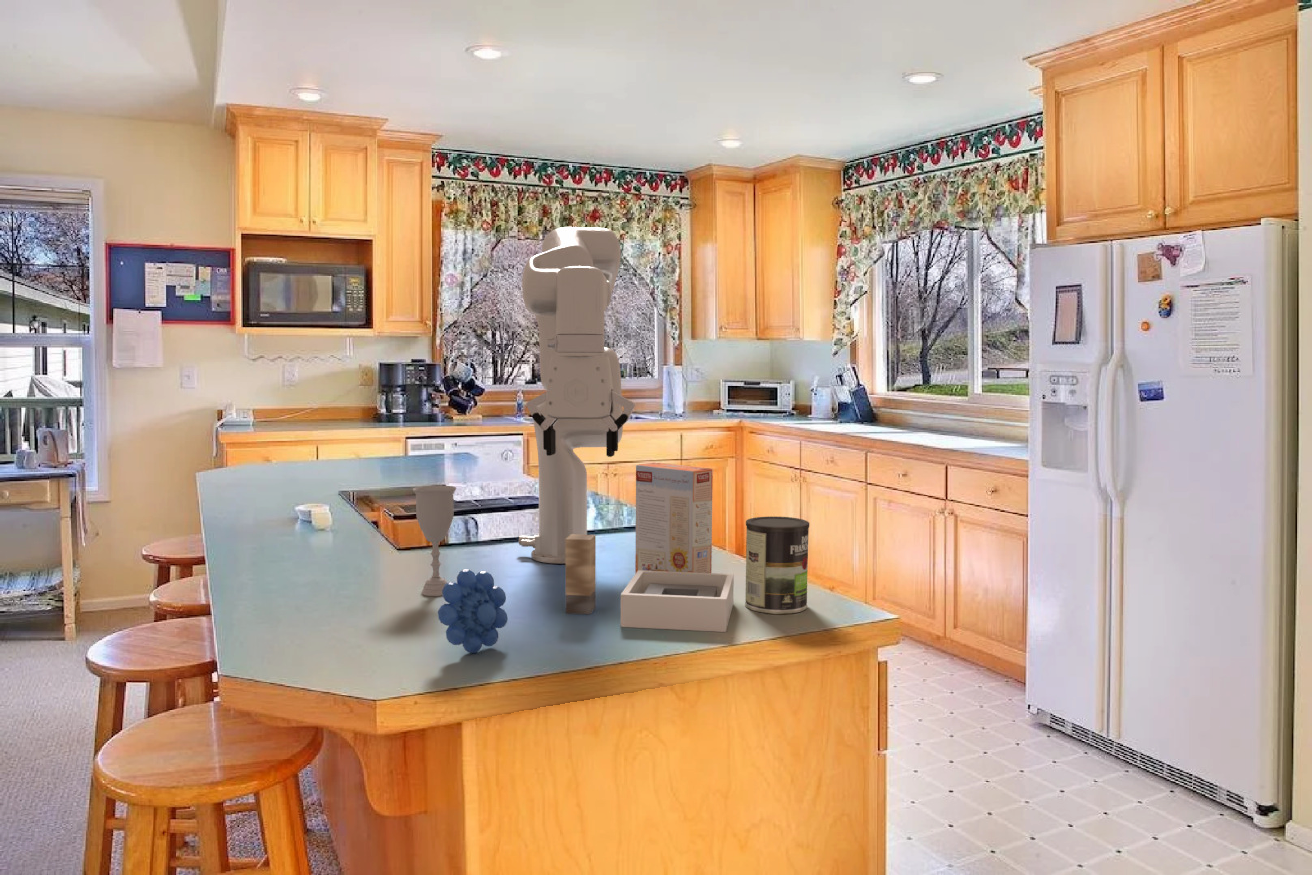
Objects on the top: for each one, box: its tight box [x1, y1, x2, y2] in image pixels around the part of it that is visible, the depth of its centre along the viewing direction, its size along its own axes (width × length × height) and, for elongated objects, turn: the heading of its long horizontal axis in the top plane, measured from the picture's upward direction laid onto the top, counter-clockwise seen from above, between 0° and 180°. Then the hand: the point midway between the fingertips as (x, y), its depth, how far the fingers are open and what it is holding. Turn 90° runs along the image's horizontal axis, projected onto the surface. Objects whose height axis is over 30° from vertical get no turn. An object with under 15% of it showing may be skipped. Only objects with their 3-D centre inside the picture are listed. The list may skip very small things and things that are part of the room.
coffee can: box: [744, 516, 810, 615], centre depth 160 cm, size 10×10×14 cm
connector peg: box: [565, 534, 597, 615], centre depth 157 cm, size 4×4×12 cm
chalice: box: [412, 485, 457, 597], centre depth 168 cm, size 7×7×18 cm
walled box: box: [620, 570, 735, 633], centre depth 155 cm, size 16×16×5 cm
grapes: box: [437, 569, 508, 654], centre depth 135 cm, size 12×7×12 cm, turn 139°
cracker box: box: [634, 462, 714, 575], centre depth 178 cm, size 14×6×21 cm, turn 47°
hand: (580, 455), depth 155 cm, fingers open, 9 cm apart
